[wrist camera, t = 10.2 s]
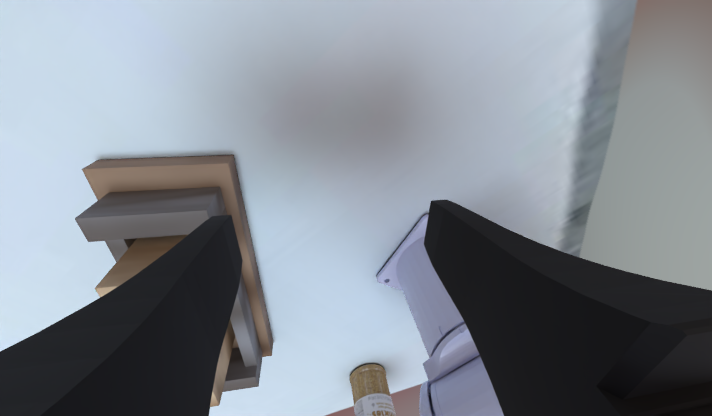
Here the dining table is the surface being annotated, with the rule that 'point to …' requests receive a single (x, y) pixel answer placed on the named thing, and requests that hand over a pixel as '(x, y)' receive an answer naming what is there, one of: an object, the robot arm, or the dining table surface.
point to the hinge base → (183, 231)
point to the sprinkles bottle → (371, 392)
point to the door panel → (139, 259)
